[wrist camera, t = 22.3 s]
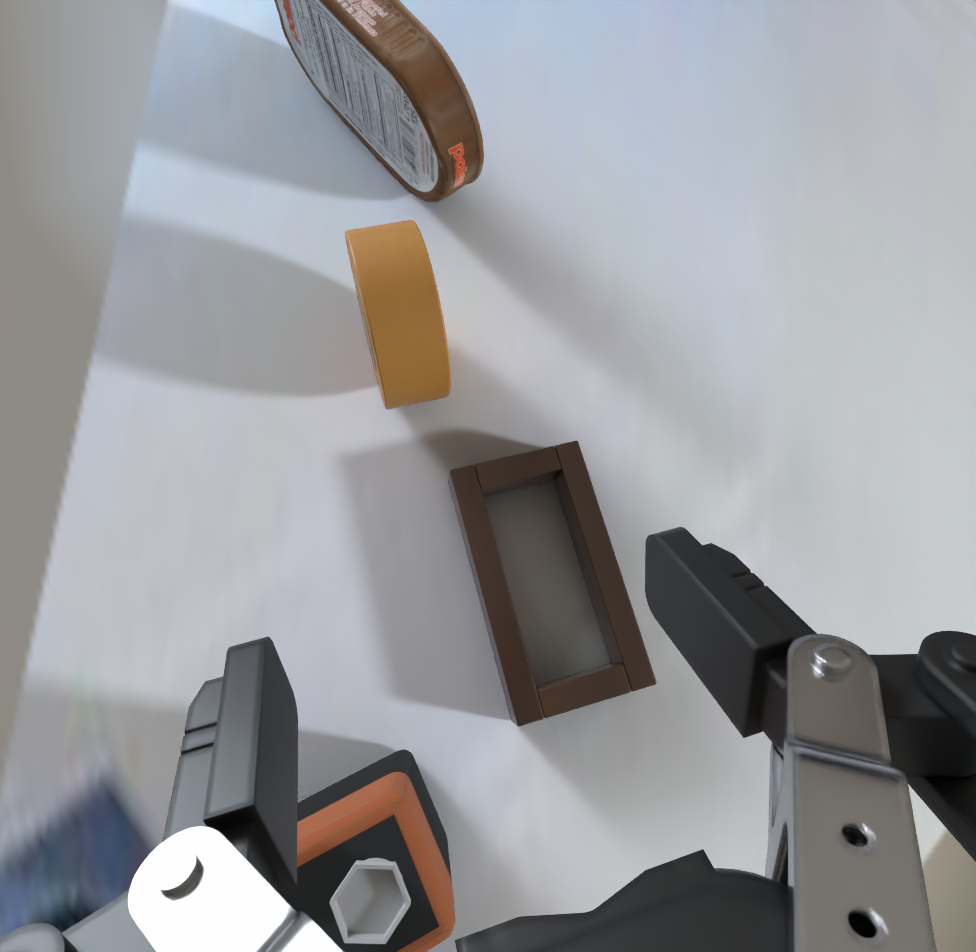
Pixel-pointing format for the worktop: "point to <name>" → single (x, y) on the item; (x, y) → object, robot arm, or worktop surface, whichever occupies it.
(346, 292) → the worktop surface
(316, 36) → the tin
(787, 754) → the robot arm
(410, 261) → the tape roll
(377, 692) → the worktop surface
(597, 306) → the worktop surface
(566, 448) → the tape holder
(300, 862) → the battery
